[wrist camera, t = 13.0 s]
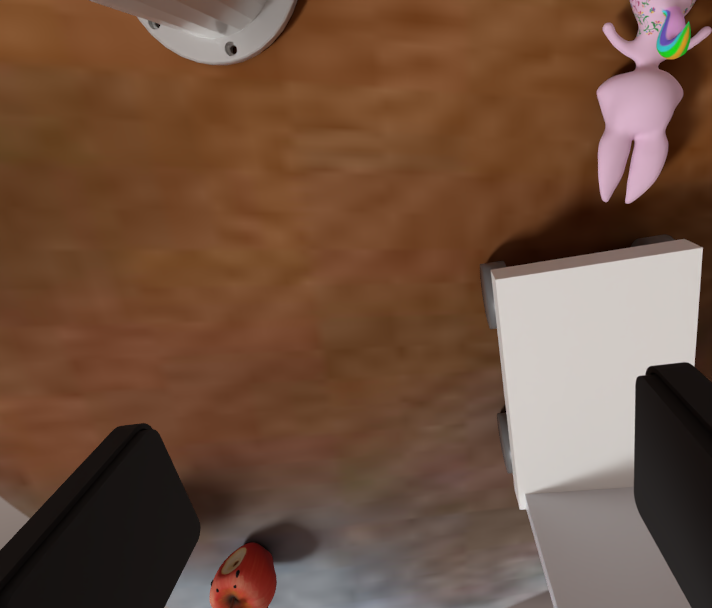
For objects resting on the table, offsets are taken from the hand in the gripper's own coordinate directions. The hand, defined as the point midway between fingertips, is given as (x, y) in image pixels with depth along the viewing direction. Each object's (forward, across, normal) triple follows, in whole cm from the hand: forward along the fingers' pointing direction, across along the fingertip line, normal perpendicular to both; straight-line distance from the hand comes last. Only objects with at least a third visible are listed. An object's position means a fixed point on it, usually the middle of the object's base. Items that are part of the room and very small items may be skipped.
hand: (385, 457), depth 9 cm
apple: (+28, +24, +37) cm, 53 cm away
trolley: (+28, -11, +15) cm, 34 cm away
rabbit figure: (+29, -16, -5) cm, 33 cm away
